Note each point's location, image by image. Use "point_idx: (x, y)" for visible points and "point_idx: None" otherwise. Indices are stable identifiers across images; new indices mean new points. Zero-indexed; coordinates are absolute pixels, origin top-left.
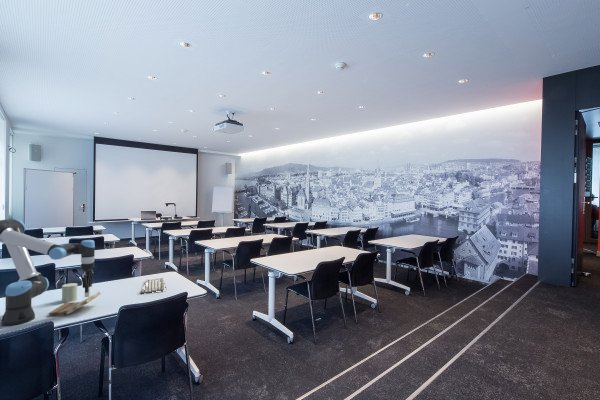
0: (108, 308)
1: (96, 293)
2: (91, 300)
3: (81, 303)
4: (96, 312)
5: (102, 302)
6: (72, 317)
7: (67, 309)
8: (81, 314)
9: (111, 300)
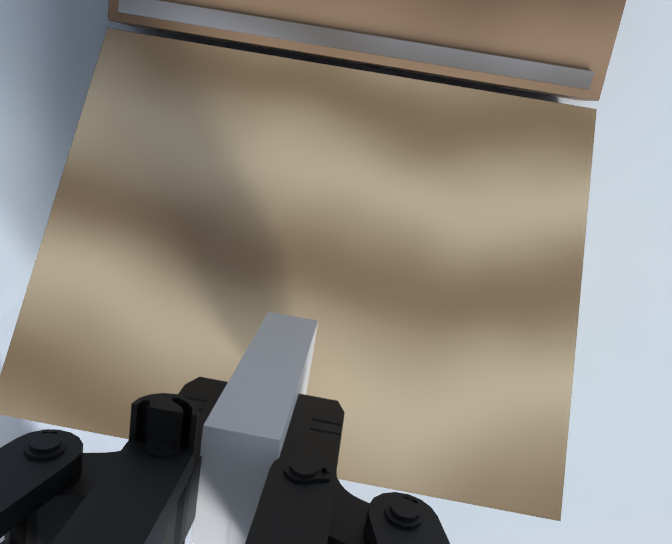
0: None
1: (533, 458)
2: None
3: (24, 311)
4: None
5: (591, 409)
6: (32, 172)
7: (205, 24)
8: None
9: (641, 509)
